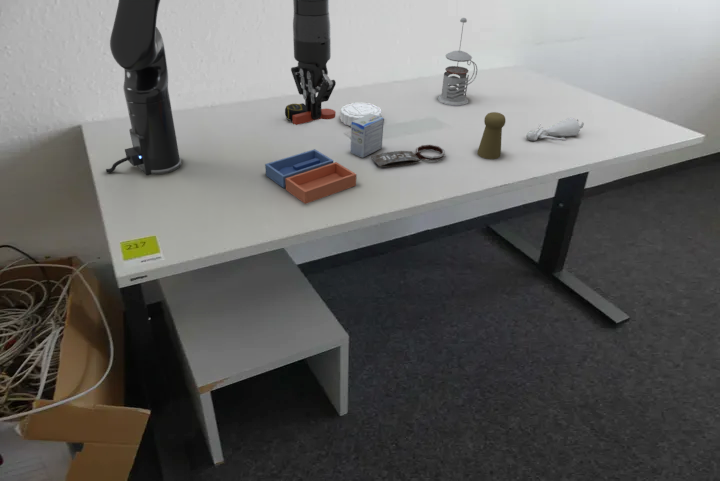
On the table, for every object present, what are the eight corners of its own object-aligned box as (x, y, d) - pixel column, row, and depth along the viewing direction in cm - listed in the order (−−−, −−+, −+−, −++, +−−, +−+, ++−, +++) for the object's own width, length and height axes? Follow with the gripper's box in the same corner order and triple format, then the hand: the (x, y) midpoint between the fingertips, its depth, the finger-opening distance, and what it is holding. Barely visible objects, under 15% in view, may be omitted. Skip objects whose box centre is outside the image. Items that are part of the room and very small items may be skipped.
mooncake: (388, 125, 158) (388, 113, 156) (348, 130, 154) (349, 118, 152) (371, 110, 167) (372, 99, 165) (334, 114, 163) (334, 103, 161)
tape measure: (311, 122, 158) (311, 110, 156) (287, 124, 156) (287, 112, 154) (306, 113, 163) (305, 101, 161) (283, 115, 161) (282, 103, 159)
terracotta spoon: (328, 111, 126) (328, 104, 125) (339, 117, 124) (339, 109, 123) (289, 121, 120) (288, 113, 119) (299, 127, 118) (299, 119, 117)
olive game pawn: (483, 160, 141) (490, 119, 135) (473, 150, 146) (479, 110, 140) (504, 158, 143) (512, 117, 136) (494, 148, 147) (501, 108, 141)
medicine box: (369, 143, 147) (370, 112, 142) (382, 148, 145) (384, 117, 140) (350, 153, 142) (350, 121, 137) (363, 158, 140) (364, 126, 135)
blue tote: (283, 188, 126) (282, 176, 124) (265, 175, 131) (265, 163, 129) (333, 171, 133) (333, 160, 132) (315, 160, 138) (314, 149, 137)
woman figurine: (596, 124, 151) (542, 137, 146) (592, 139, 154) (539, 152, 149) (567, 109, 160) (515, 121, 155) (564, 124, 163) (513, 136, 157)
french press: (432, 95, 180) (441, 14, 166) (464, 93, 183) (476, 13, 169) (445, 106, 172) (455, 22, 158) (478, 103, 175) (492, 20, 161)
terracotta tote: (305, 204, 120) (305, 192, 119) (285, 190, 125) (285, 178, 123) (356, 185, 128) (356, 174, 126) (336, 173, 133) (336, 161, 131)
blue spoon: (286, 180, 128) (285, 173, 127) (276, 174, 130) (276, 167, 129) (323, 168, 133) (323, 161, 132) (313, 162, 136) (313, 155, 135)
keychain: (368, 157, 141) (369, 149, 139) (436, 148, 146) (437, 141, 145) (380, 170, 135) (380, 163, 133) (450, 160, 140) (451, 153, 139)
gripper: (277, 31, 114) (282, 111, 124) (316, 46, 106) (318, 131, 115) (307, 26, 118) (309, 104, 128) (347, 40, 110) (346, 123, 119)
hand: (313, 116), depth 122 cm, fingers closed on terracotta spoon, 1 cm apart
